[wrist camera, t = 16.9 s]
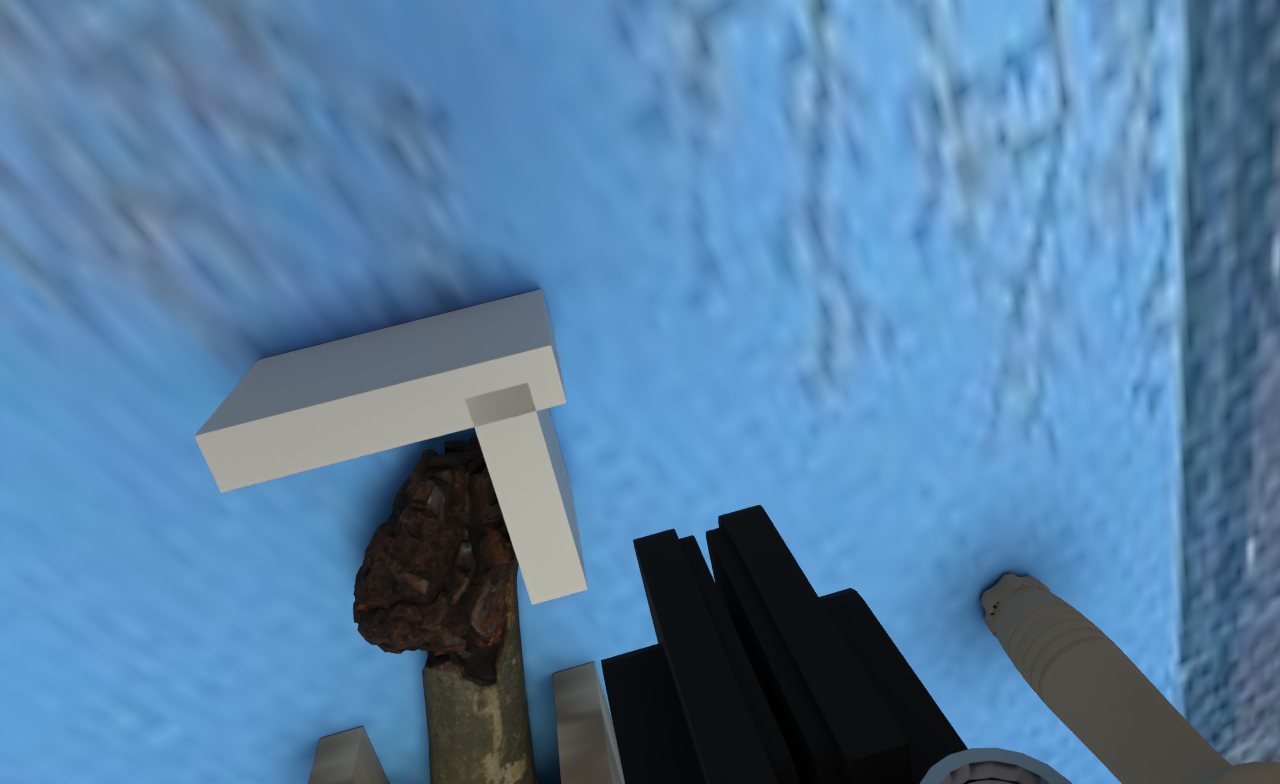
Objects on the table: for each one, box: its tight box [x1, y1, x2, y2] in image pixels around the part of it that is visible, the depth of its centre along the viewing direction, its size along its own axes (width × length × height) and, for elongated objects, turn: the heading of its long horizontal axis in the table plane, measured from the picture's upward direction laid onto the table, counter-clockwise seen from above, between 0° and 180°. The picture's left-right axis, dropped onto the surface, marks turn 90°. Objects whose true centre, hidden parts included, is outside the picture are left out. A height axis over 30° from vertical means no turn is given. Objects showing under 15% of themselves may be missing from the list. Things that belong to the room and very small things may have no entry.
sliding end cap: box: [194, 289, 588, 605], centre depth 30 cm, size 11×9×7 cm
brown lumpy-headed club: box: [353, 437, 538, 784], centre depth 35 cm, size 18×7×6 cm, turn 179°
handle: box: [981, 573, 1280, 784], centre depth 34 cm, size 5×6×15 cm
